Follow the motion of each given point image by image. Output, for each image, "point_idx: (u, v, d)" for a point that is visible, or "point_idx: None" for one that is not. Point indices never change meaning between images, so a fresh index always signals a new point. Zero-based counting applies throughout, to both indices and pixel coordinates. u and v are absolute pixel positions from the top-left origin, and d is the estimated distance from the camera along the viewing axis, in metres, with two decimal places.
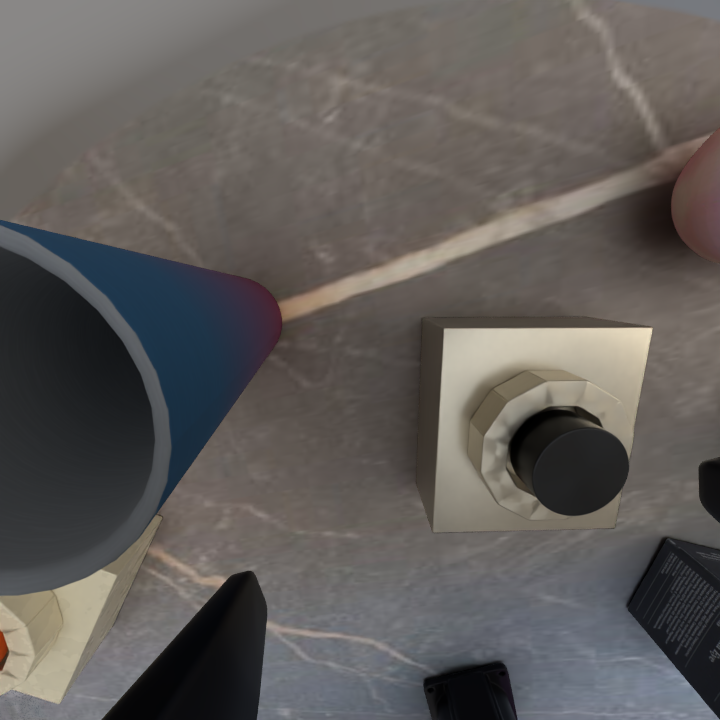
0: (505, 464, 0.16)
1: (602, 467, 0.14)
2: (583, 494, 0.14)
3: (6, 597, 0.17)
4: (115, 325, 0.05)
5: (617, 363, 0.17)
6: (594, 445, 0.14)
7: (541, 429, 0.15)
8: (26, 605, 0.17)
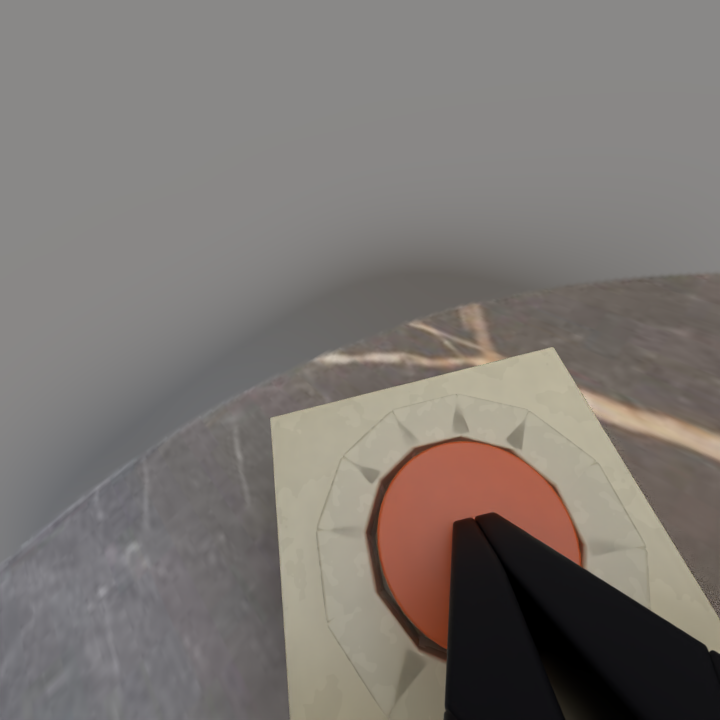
0: None
1: None
2: None
3: None
4: None
5: None
6: None
7: None
8: None
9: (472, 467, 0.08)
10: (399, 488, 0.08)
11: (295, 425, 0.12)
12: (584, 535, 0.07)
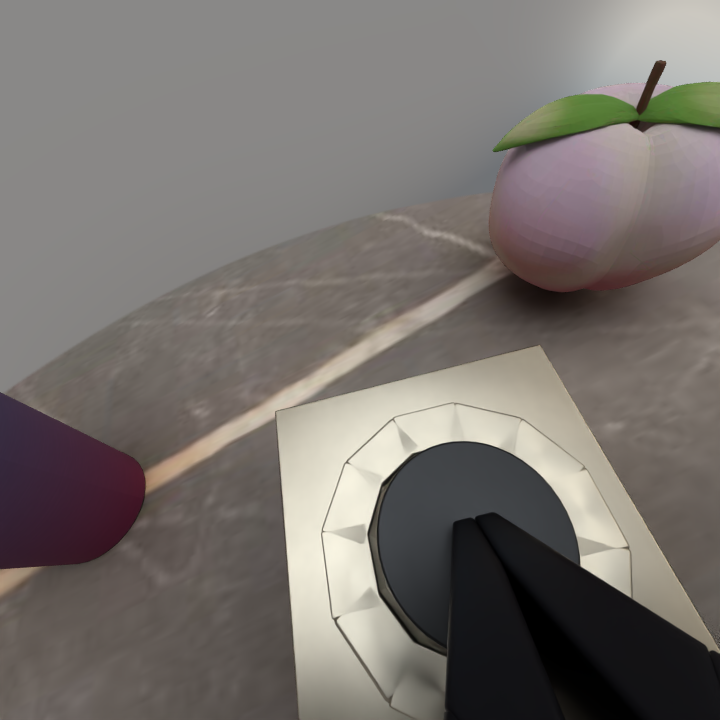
0: (375, 586, 0.08)
1: (507, 511, 0.07)
2: None
3: None
4: None
5: (523, 395, 0.12)
6: (467, 470, 0.08)
7: None
8: None
9: None
10: None
11: None
12: None
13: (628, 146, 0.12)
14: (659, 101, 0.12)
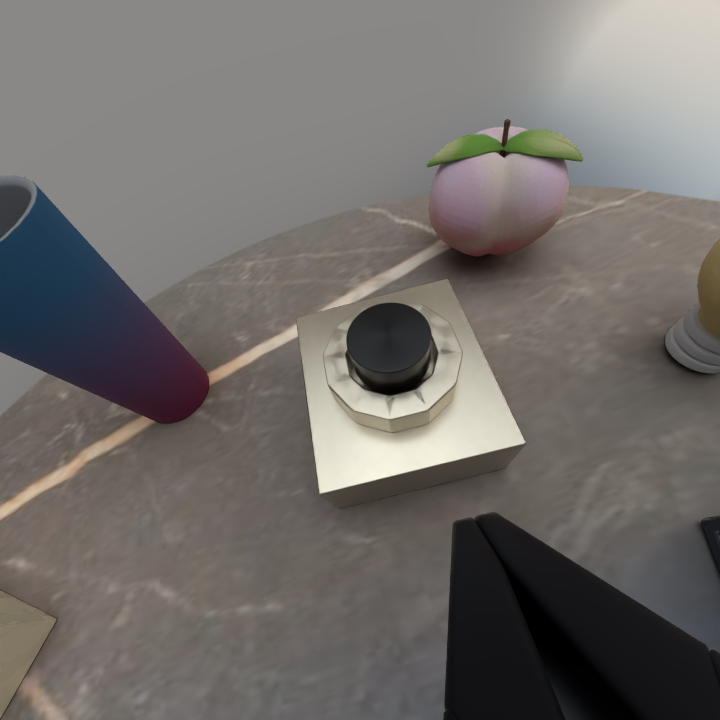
0: (348, 373, 0.17)
1: (403, 326, 0.16)
2: (397, 350, 0.16)
3: None
4: (30, 186, 0.14)
5: (434, 304, 0.21)
6: (388, 312, 0.17)
7: None
8: None
9: None
10: None
11: None
12: None
13: (493, 165, 0.21)
14: (512, 140, 0.21)
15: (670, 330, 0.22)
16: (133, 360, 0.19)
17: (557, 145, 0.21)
